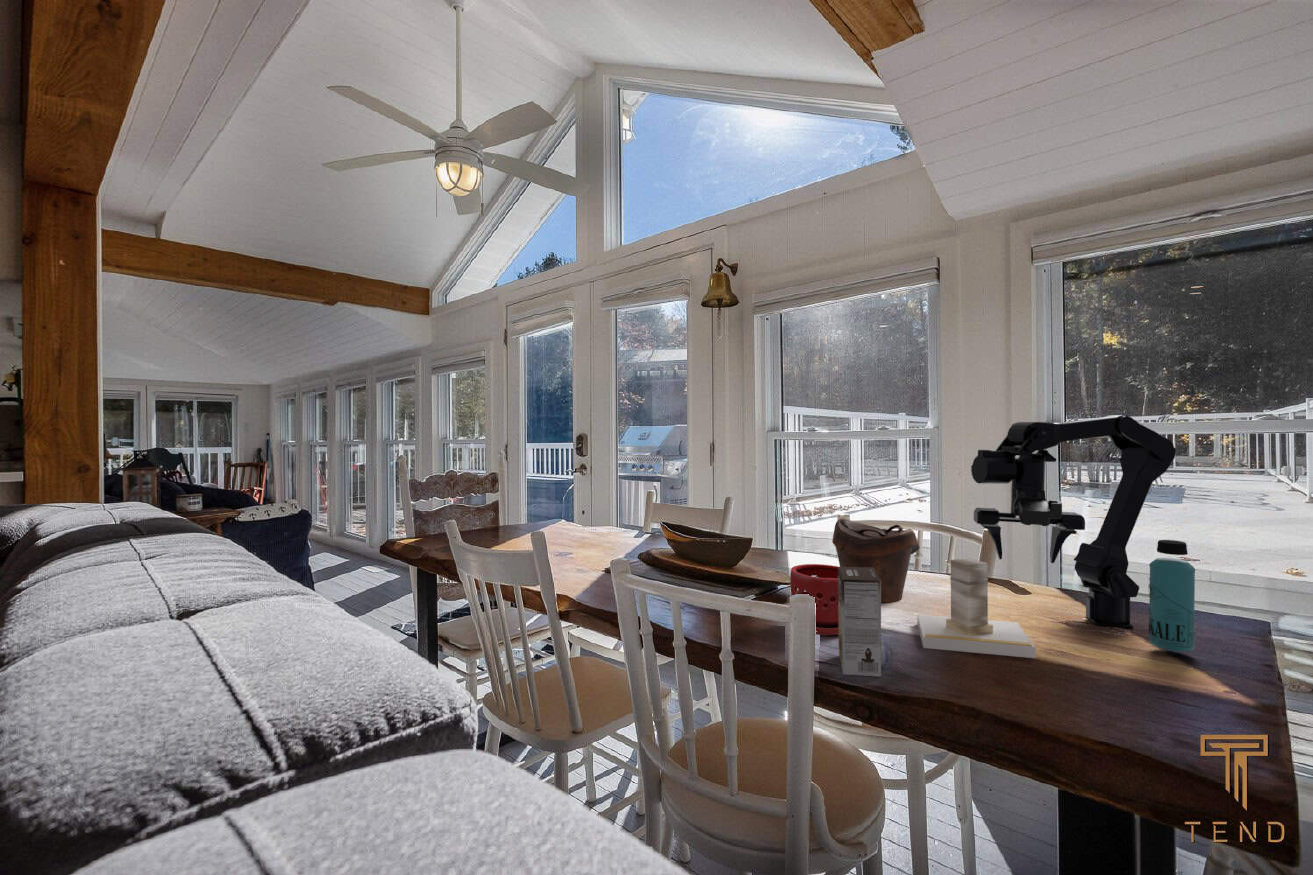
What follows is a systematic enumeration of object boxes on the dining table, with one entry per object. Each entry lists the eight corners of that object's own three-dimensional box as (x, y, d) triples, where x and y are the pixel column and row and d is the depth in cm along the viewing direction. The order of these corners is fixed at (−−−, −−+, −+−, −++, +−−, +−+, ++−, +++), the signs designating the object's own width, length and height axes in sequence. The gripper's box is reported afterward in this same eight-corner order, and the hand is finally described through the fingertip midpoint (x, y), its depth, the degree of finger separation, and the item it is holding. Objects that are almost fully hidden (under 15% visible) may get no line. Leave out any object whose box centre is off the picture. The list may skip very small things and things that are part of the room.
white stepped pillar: (970, 623, 121) (970, 557, 120) (993, 633, 115) (992, 563, 115) (946, 626, 119) (945, 559, 119) (967, 636, 114) (967, 565, 114)
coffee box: (837, 654, 111) (836, 565, 111) (875, 656, 110) (874, 566, 110) (842, 675, 102) (841, 578, 102) (883, 677, 101) (882, 579, 101)
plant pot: (818, 644, 117) (817, 580, 116) (777, 624, 129) (777, 566, 128) (872, 633, 122) (871, 573, 122) (828, 615, 134) (828, 560, 134)
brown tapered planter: (933, 605, 139) (932, 525, 139) (844, 607, 140) (842, 527, 140) (903, 586, 157) (901, 515, 157) (823, 587, 157) (822, 517, 157)
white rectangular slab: (1017, 632, 121) (1017, 621, 121) (1035, 658, 108) (1035, 645, 108) (917, 624, 127) (917, 613, 127) (923, 647, 114) (923, 635, 114)
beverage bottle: (1185, 649, 111) (1185, 537, 111) (1204, 662, 105) (1204, 544, 105) (1141, 645, 113) (1141, 536, 113) (1157, 658, 107) (1157, 543, 107)
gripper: (982, 485, 121) (980, 565, 121) (1095, 489, 115) (1093, 573, 115) (974, 480, 131) (972, 554, 132) (1077, 484, 125) (1075, 561, 125)
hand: (1025, 560), depth 126 cm, fingers open, 9 cm apart
